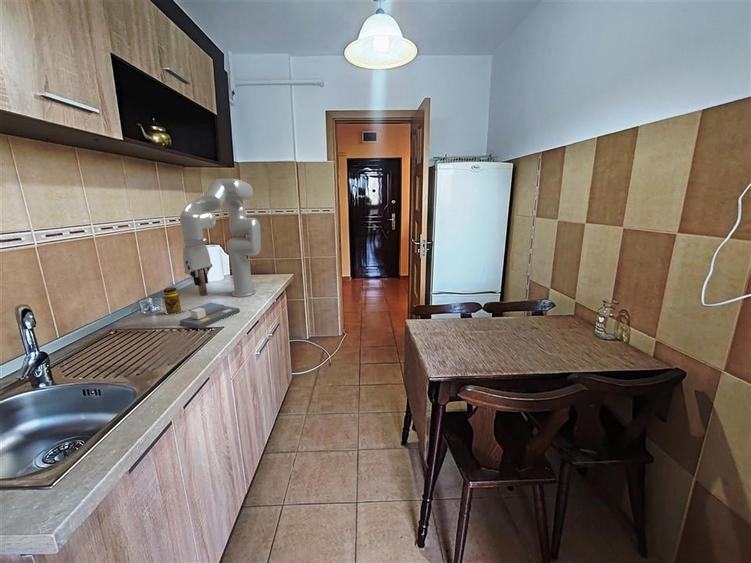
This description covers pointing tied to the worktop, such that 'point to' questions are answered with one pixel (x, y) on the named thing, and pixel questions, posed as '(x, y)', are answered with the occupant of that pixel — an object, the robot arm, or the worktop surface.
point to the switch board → (210, 317)
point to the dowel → (202, 283)
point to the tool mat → (208, 306)
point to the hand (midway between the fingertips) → (201, 283)
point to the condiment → (172, 300)
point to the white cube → (198, 313)
